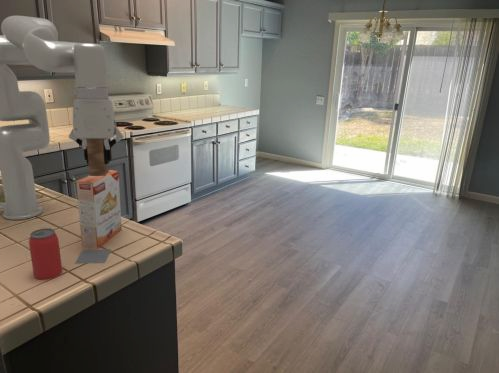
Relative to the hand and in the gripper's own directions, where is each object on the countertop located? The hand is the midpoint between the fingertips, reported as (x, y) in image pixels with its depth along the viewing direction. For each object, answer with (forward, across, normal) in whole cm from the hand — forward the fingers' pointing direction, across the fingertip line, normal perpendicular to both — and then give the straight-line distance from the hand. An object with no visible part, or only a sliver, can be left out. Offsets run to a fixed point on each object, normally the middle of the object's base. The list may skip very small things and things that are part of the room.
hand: (98, 162), depth 104 cm
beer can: (+27, -11, -13) cm, 32 cm away
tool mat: (+27, -2, -4) cm, 27 cm away
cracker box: (+27, -3, +9) cm, 29 cm away
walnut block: (+3, 0, 0) cm, 3 cm away
